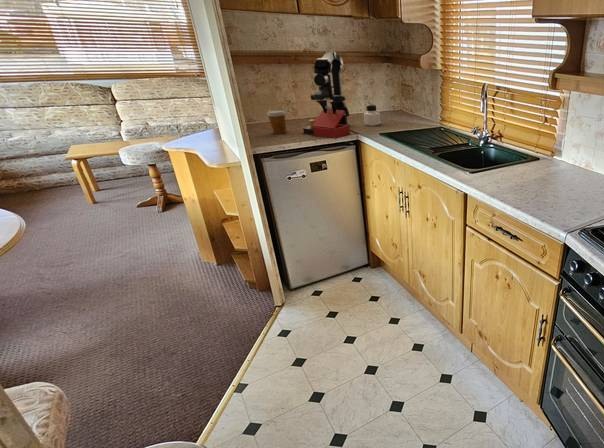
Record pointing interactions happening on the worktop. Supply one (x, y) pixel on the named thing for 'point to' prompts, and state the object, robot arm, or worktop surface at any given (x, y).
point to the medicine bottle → (371, 116)
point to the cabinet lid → (329, 118)
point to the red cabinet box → (332, 131)
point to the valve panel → (308, 130)
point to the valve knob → (312, 122)
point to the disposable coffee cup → (277, 121)
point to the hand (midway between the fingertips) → (330, 113)
